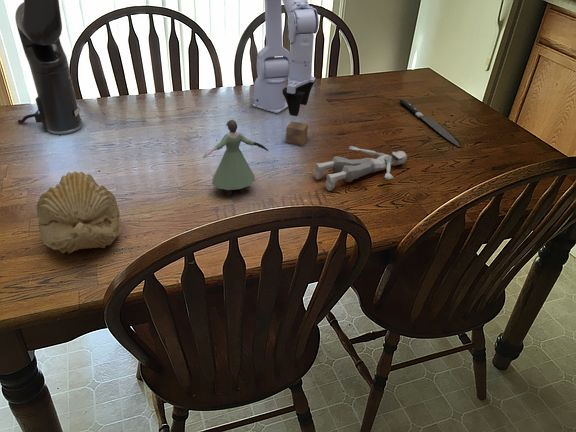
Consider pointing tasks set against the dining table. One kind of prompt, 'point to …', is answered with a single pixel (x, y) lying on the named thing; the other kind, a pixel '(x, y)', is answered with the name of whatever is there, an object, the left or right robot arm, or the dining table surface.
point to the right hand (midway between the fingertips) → (298, 109)
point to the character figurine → (233, 162)
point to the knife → (429, 121)
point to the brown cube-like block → (296, 133)
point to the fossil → (78, 214)
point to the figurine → (358, 166)
